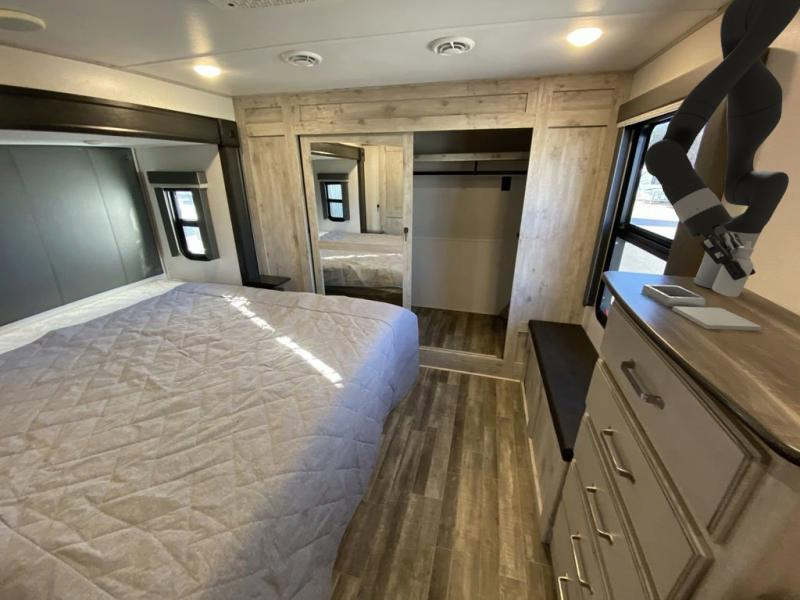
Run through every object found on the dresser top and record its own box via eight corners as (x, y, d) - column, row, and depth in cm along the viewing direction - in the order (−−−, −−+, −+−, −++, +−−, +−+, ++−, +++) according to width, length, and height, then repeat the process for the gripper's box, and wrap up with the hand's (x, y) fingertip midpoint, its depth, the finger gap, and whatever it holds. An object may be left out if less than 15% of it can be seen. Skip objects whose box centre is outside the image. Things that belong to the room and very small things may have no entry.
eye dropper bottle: (735, 292, 74) (761, 241, 69) (738, 298, 70) (766, 245, 65) (711, 287, 76) (734, 238, 71) (712, 293, 72) (736, 242, 67)
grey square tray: (674, 293, 91) (677, 285, 90) (703, 307, 82) (707, 298, 81) (641, 292, 91) (644, 284, 90) (666, 306, 82) (669, 297, 81)
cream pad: (719, 311, 80) (721, 308, 80) (759, 330, 71) (761, 326, 71) (672, 309, 80) (673, 306, 80) (706, 328, 71) (707, 324, 71)
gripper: (706, 203, 68) (756, 273, 63) (732, 202, 74) (779, 265, 70) (668, 224, 74) (711, 288, 69) (695, 221, 81) (736, 280, 76)
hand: (745, 276), depth 70 cm, fingers closed on eye dropper bottle, 4 cm apart
